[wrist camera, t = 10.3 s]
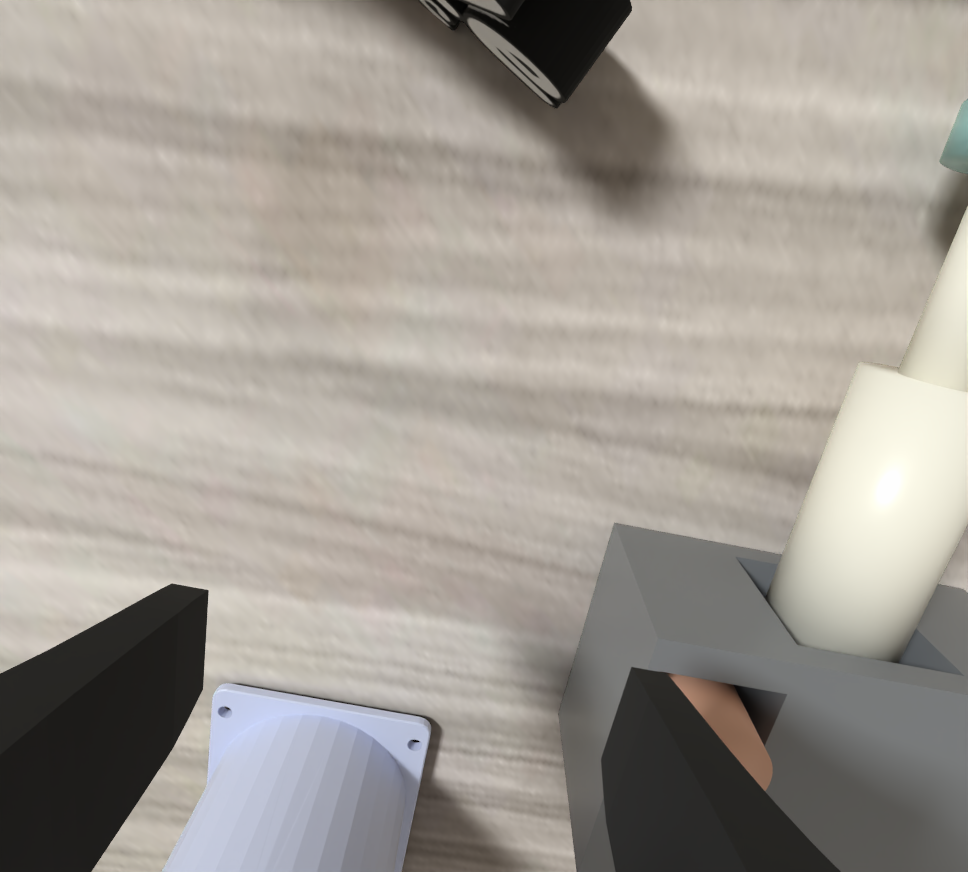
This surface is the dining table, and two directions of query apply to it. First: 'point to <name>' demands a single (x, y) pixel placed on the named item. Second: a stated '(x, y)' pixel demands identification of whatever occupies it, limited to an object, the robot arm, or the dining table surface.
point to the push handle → (888, 482)
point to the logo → (540, 36)
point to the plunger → (729, 723)
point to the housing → (781, 703)
